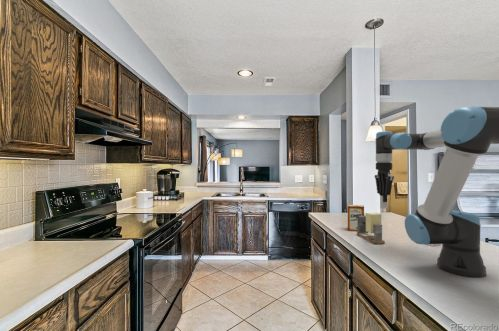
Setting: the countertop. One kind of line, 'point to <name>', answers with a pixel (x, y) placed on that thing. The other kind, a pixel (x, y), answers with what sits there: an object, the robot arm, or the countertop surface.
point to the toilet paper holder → (365, 235)
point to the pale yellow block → (372, 221)
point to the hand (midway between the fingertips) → (383, 208)
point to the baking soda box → (354, 216)
